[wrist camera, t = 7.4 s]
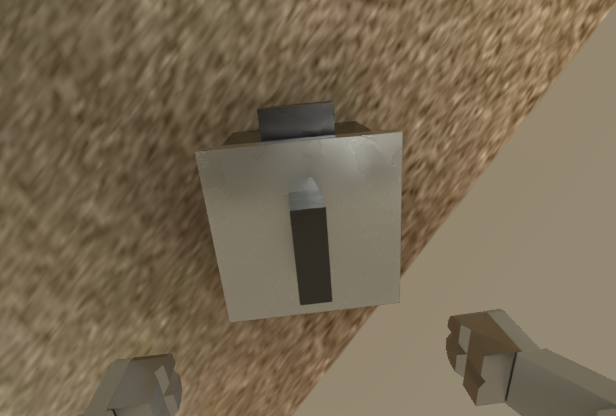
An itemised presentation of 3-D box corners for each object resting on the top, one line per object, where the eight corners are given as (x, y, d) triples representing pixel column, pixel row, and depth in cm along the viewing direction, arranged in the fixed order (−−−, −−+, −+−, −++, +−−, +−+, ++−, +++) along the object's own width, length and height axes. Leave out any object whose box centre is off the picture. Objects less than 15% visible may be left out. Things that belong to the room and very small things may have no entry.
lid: (199, 147, 17) (179, 164, 14) (396, 128, 17) (422, 140, 14) (232, 311, 21) (222, 355, 17) (394, 292, 21) (415, 332, 18)
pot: (228, 104, 24) (203, 116, 17) (354, 92, 24) (386, 99, 17) (254, 264, 29) (244, 330, 21) (359, 252, 29) (386, 313, 22)
